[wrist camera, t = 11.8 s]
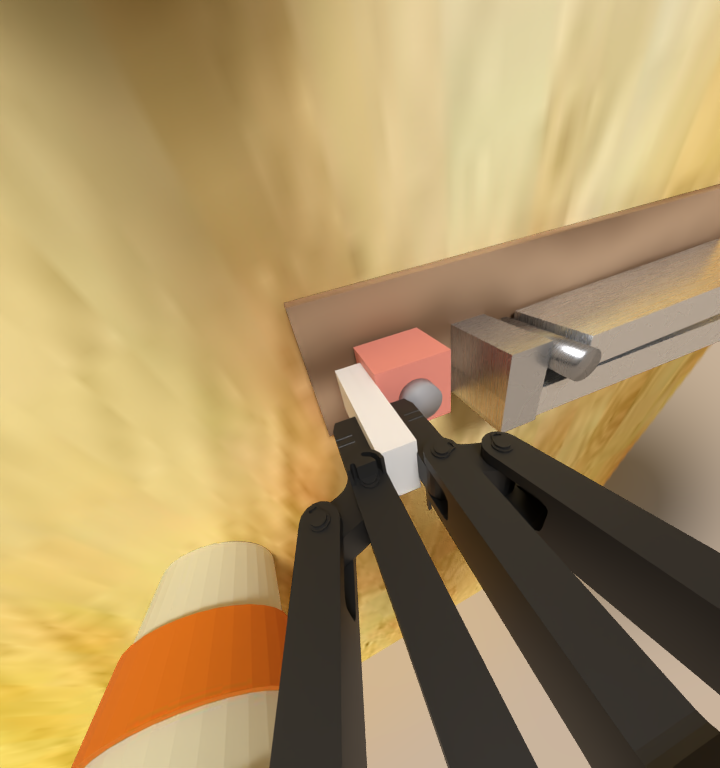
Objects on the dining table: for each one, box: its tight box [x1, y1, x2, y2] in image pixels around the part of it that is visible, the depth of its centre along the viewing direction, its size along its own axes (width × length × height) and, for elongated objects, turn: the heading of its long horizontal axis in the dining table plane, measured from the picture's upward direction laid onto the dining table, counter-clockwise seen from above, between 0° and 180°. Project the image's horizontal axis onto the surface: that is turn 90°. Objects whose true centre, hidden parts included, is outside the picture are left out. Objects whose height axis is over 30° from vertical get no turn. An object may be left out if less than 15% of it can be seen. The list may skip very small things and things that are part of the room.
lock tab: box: [353, 327, 451, 421], centre depth 15 cm, size 4×4×4 cm
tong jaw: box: [499, 239, 720, 381], centre depth 17 cm, size 2×20×6 cm, turn 103°
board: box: [284, 184, 720, 436], centre depth 19 cm, size 9×33×1 cm, turn 101°
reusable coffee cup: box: [71, 541, 288, 768], centre depth 17 cm, size 12×13×15 cm
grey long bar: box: [451, 314, 720, 432], centre depth 18 cm, size 5×23×5 cm, turn 101°
